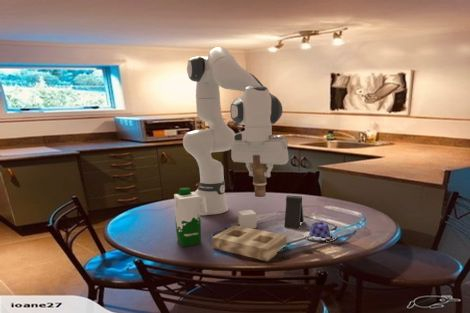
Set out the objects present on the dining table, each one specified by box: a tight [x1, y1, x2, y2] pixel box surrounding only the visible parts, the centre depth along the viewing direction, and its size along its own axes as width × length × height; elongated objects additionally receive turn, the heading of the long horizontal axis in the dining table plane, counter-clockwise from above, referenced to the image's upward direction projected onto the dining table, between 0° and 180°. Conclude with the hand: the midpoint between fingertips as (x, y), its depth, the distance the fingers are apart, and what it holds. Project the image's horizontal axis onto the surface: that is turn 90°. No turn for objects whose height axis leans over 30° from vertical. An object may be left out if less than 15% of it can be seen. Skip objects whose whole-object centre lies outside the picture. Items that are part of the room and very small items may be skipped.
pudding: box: [303, 221, 337, 243], centre depth 133 cm, size 12×12×5 cm
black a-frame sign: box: [284, 195, 305, 229], centre depth 146 cm, size 9×6×12 cm, turn 156°
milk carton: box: [173, 186, 202, 248], centre depth 131 cm, size 9×9×20 cm
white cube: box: [237, 209, 257, 229], centre depth 147 cm, size 6×6×6 cm
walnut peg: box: [252, 155, 268, 198], centre depth 119 cm, size 5×5×14 cm
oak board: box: [211, 224, 288, 262], centre depth 125 cm, size 22×14×4 cm, turn 56°
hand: (259, 176), depth 119 cm, fingers closed on walnut peg, 4 cm apart
